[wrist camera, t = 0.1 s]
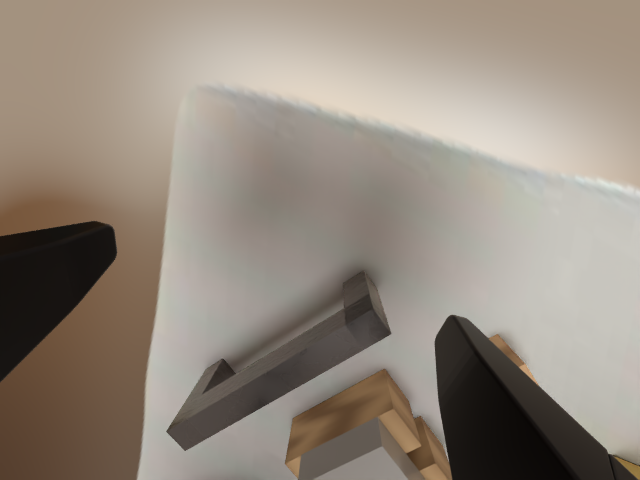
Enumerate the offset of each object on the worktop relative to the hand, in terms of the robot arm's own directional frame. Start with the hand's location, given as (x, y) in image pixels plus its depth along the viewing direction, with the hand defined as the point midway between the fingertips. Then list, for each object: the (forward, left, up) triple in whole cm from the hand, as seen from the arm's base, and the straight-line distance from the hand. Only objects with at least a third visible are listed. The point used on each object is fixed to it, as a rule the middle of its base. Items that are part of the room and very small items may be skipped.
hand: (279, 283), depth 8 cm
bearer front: (-9, -17, -16) cm, 25 cm away
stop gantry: (-8, -7, -15) cm, 19 cm away
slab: (-8, -20, -11) cm, 24 cm away
